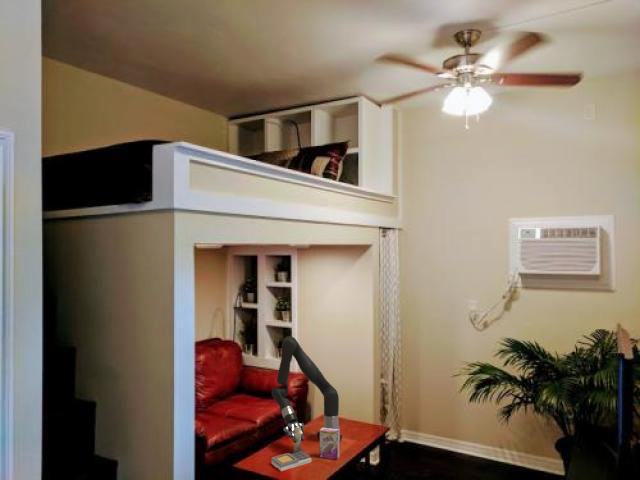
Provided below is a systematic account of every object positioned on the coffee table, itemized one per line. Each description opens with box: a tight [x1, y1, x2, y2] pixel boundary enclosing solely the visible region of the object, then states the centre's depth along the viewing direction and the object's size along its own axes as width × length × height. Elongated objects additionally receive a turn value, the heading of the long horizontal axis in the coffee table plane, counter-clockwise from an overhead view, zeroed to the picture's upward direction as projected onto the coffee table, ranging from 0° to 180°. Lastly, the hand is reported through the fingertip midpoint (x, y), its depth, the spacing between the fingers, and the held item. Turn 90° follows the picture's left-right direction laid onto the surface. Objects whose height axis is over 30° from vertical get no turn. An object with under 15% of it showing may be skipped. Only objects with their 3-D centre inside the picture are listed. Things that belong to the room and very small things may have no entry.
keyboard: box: [271, 450, 312, 472], centre depth 282 cm, size 20×11×4 cm, turn 124°
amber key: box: [276, 456, 293, 463], centre depth 280 cm, size 7×7×1 cm
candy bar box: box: [319, 427, 340, 461], centre depth 289 cm, size 11×5×16 cm, turn 74°
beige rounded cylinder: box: [292, 426, 303, 454], centre depth 296 cm, size 6×6×14 cm
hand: (299, 441), depth 294 cm, fingers open, 4 cm apart
